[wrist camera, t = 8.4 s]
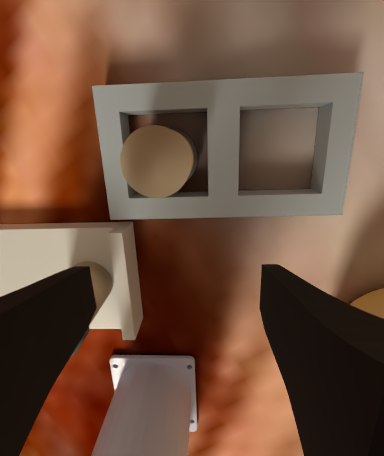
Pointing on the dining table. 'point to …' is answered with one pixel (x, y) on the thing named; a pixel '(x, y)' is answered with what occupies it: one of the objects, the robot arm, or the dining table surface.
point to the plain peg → (97, 289)
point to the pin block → (232, 143)
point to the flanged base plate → (73, 254)
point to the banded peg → (158, 160)
